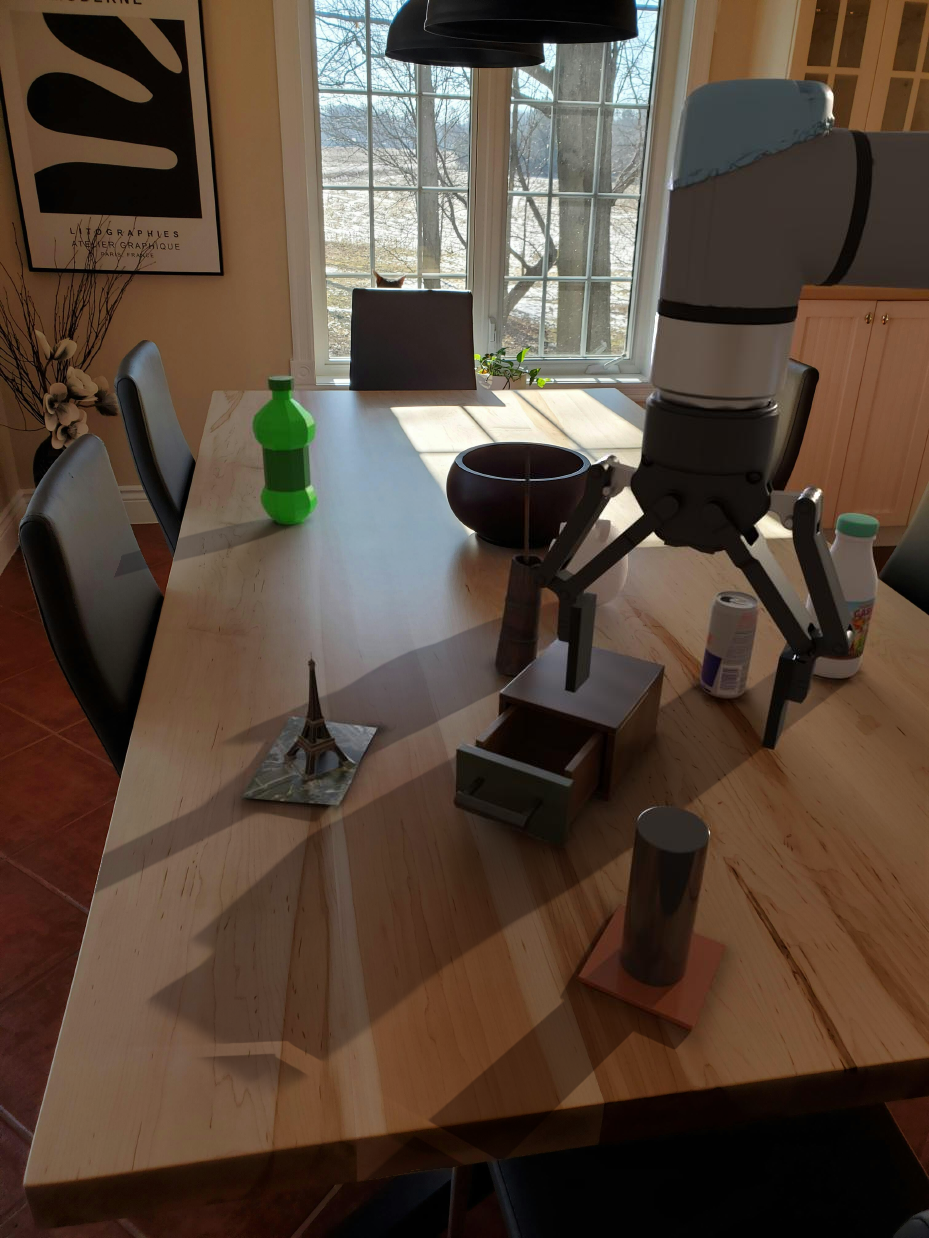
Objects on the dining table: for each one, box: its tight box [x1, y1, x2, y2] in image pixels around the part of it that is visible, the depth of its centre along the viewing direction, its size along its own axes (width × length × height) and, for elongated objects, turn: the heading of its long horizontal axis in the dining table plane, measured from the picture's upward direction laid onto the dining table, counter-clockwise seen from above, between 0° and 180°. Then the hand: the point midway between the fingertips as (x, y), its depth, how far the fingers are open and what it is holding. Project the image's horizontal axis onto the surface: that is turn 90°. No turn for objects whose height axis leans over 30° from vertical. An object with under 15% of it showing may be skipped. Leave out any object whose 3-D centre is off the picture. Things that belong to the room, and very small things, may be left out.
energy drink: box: [699, 590, 761, 699], centre depth 107 cm, size 5×5×12 cm
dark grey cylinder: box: [620, 805, 711, 986], centre depth 68 cm, size 5×5×13 cm
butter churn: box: [494, 445, 544, 677], centre depth 107 cm, size 9×10×28 cm
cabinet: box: [497, 638, 666, 802], centre depth 96 cm, size 15×13×9 cm
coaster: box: [577, 903, 727, 1032], centre depth 71 cm, size 9×9×1 cm
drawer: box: [453, 704, 608, 849], centre depth 86 cm, size 18×11×7 cm, turn 150°
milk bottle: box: [805, 512, 880, 679], centre depth 111 cm, size 8×8×20 cm
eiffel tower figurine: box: [241, 653, 378, 806], centre depth 91 cm, size 15×10×13 cm
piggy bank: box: [548, 517, 629, 607], centre depth 128 cm, size 12×12×15 cm
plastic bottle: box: [251, 375, 318, 525], centre depth 156 cm, size 10×10×25 cm
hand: (670, 710), depth 61 cm, fingers open, 13 cm apart
